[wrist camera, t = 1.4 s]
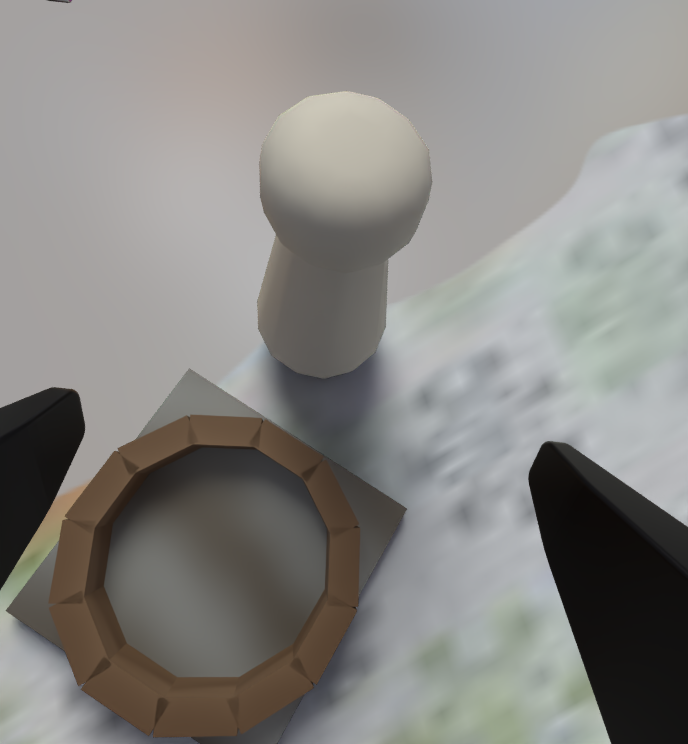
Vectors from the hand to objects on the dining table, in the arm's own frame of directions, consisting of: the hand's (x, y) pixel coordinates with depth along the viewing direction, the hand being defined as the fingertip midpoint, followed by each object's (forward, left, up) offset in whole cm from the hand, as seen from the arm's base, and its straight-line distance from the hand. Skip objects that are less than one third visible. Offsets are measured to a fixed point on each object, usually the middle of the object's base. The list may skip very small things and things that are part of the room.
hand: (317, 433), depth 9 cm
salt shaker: (+6, +3, -13) cm, 15 cm away
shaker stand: (-5, +1, -13) cm, 14 cm away
